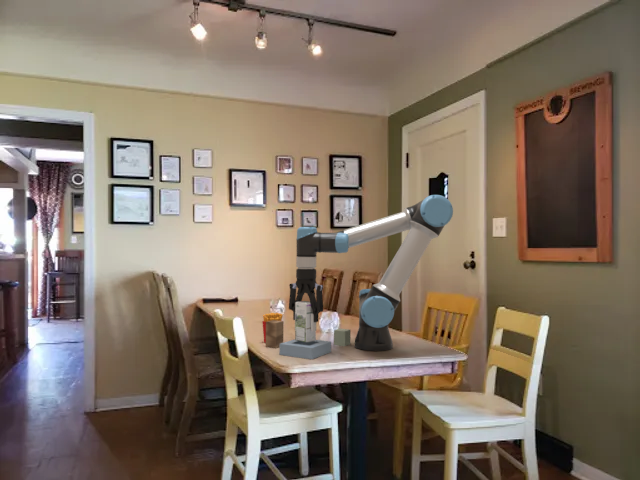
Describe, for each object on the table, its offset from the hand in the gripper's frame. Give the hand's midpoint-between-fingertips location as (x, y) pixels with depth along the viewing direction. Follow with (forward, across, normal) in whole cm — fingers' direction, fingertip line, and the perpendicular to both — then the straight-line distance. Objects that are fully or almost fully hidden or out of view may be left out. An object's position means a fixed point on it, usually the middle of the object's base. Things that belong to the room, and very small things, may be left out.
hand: (305, 329), depth 180 cm
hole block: (+9, 0, 0) cm, 9 cm away
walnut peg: (+9, +17, -4) cm, 20 cm away
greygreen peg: (+9, -4, -22) cm, 24 cm away
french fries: (+9, +23, -11) cm, 27 cm away
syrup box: (+4, 0, 0) cm, 4 cm away
